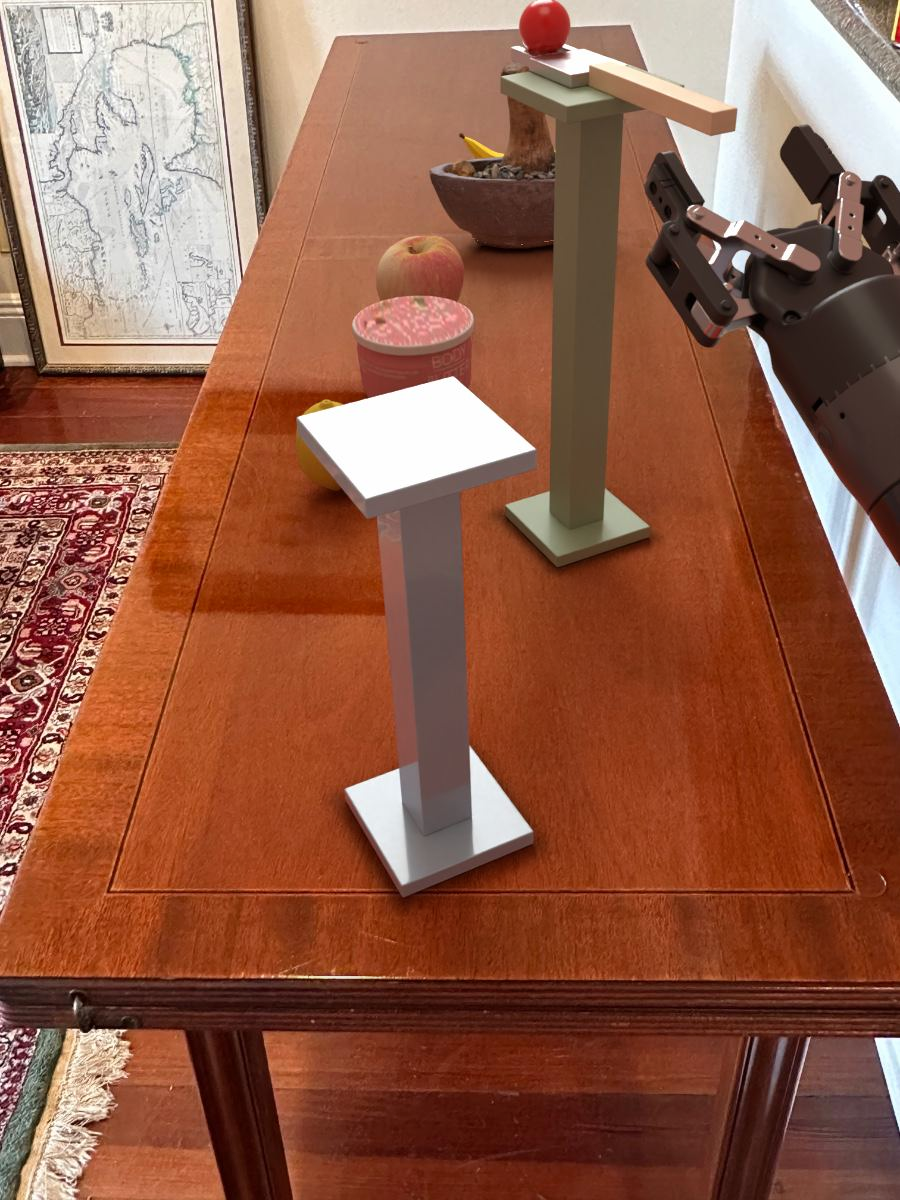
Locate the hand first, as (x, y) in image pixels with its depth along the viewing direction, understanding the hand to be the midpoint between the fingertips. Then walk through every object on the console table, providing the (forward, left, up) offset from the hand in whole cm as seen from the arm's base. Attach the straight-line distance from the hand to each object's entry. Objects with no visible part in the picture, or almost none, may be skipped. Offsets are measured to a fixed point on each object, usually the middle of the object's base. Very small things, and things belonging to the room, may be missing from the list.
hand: (725, 150), depth 62 cm
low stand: (-9, +22, -31) cm, 39 cm away
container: (+37, +2, -31) cm, 49 cm away
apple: (+53, -6, -31) cm, 62 cm away
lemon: (+27, +14, -31) cm, 44 cm away
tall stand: (+13, 0, -31) cm, 34 cm away
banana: (+85, -37, -31) cm, 98 cm away
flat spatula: (+10, 0, +1) cm, 10 cm away
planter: (+66, -25, -31) cm, 77 cm away
